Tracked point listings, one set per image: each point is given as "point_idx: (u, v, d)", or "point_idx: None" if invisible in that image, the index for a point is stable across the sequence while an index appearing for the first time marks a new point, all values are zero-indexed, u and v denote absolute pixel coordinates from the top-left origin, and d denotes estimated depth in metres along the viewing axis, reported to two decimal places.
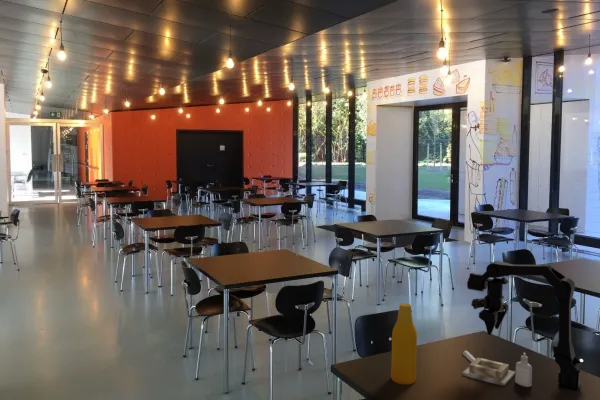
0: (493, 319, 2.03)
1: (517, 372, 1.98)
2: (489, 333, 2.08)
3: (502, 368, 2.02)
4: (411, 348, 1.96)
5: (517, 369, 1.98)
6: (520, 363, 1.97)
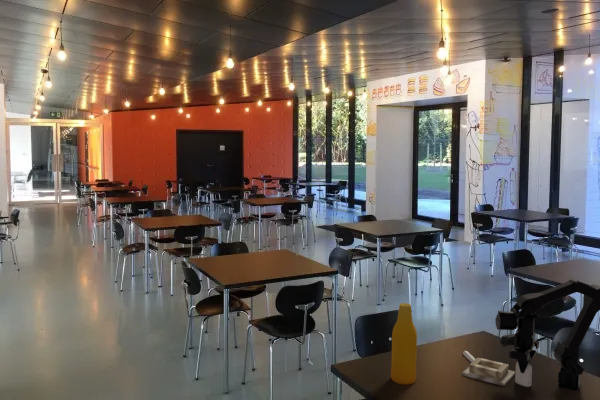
0: (525, 360, 1.88)
1: (517, 372, 1.98)
2: (522, 371, 1.96)
3: (502, 368, 2.02)
4: (411, 348, 1.96)
5: (517, 369, 1.98)
6: None
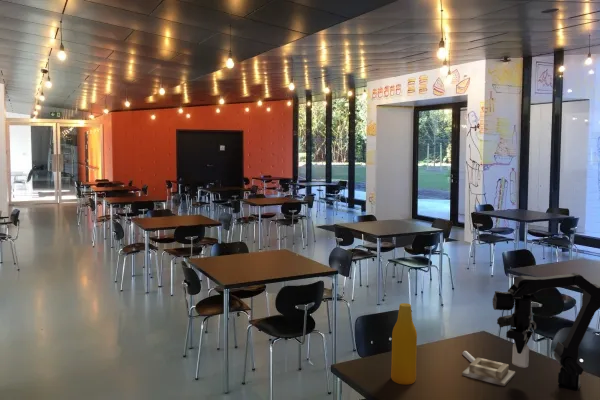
0: (522, 339, 1.88)
1: (514, 353, 1.98)
2: (519, 352, 1.96)
3: (502, 368, 2.02)
4: (411, 348, 1.96)
5: (514, 350, 1.98)
6: None
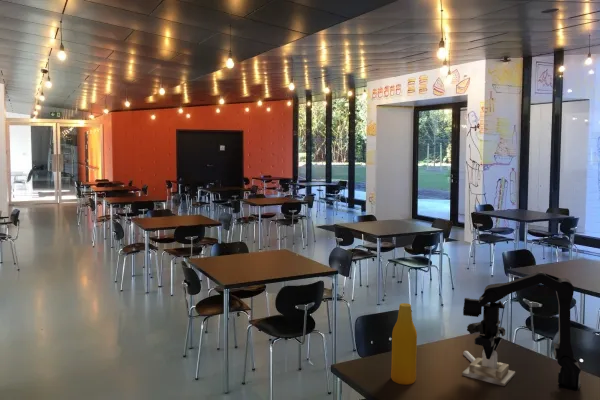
0: (489, 346, 1.96)
1: (483, 359, 2.06)
2: (488, 358, 2.04)
3: (502, 368, 2.02)
4: (411, 348, 1.96)
5: (483, 356, 2.06)
6: None
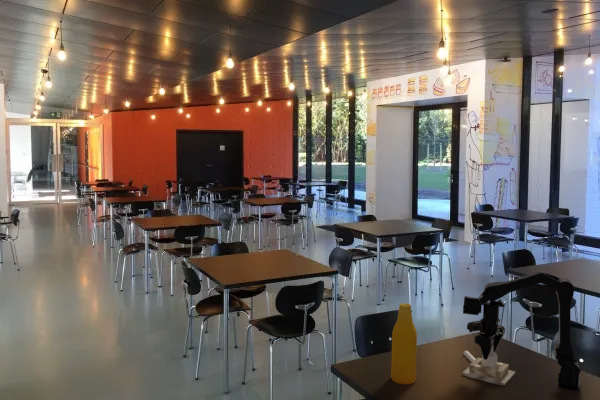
0: (489, 344, 1.96)
1: (483, 360, 2.06)
2: (485, 358, 2.02)
3: (502, 368, 2.02)
4: (411, 348, 1.96)
5: None
6: None
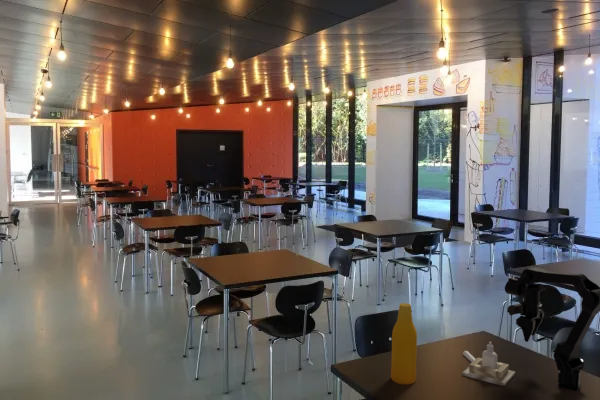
0: (531, 326, 2.00)
1: (483, 360, 2.06)
2: (526, 340, 2.06)
3: (502, 368, 2.02)
4: (411, 348, 1.96)
5: (483, 357, 2.06)
6: (486, 352, 2.05)
